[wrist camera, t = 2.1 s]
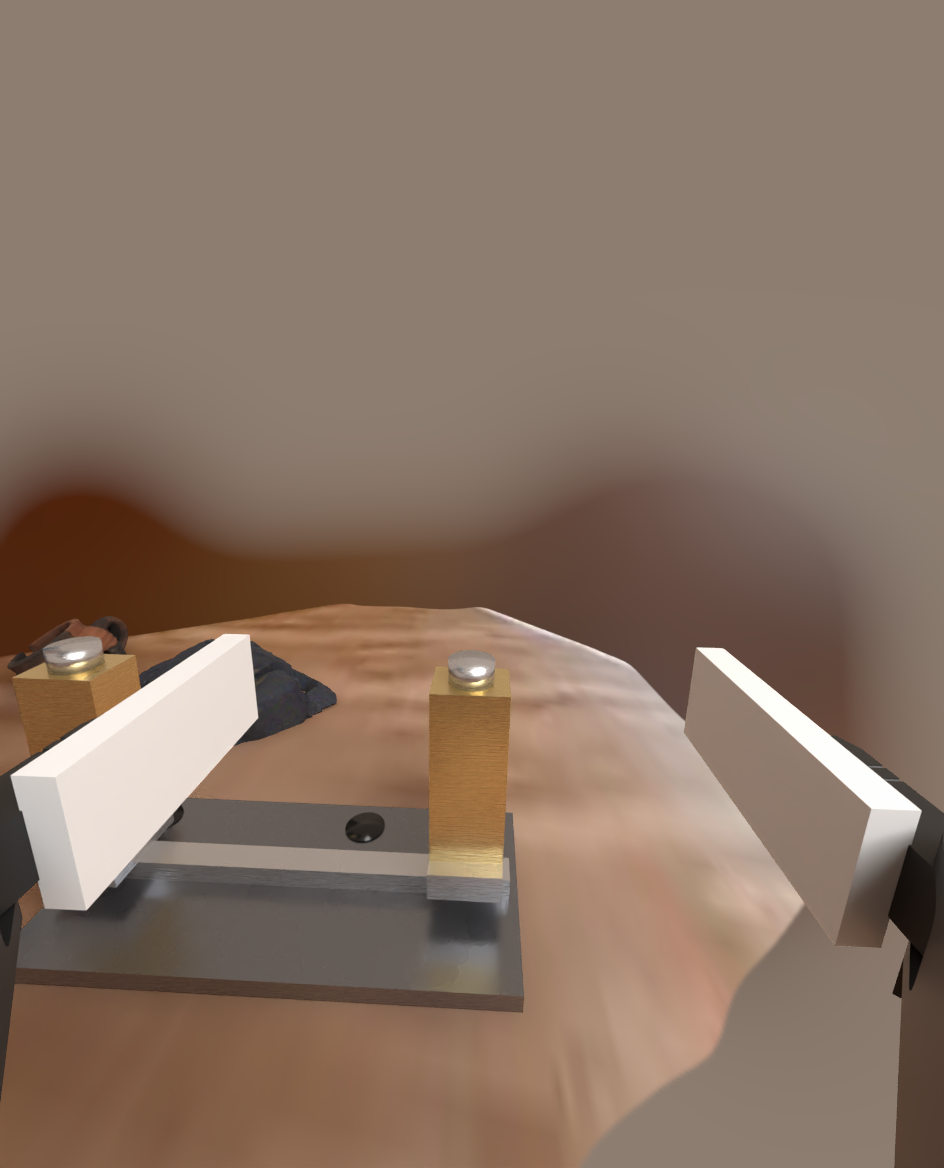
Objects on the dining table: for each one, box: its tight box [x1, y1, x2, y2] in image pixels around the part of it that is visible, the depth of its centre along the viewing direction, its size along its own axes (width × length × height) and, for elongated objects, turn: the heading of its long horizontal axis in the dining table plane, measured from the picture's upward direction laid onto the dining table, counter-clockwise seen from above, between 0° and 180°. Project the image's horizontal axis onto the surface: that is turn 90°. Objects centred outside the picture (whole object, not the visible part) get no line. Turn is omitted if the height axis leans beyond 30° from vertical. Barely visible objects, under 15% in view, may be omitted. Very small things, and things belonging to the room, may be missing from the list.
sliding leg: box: [427, 650, 511, 903], centre depth 28 cm, size 4×7×14 cm, turn 178°
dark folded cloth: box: [139, 639, 337, 746], centre depth 52 cm, size 15×22×5 cm
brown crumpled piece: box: [7, 616, 128, 676], centre depth 54 cm, size 12×10×8 cm
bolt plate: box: [12, 636, 524, 1012], centre depth 27 cm, size 26×12×15 cm, turn 88°
